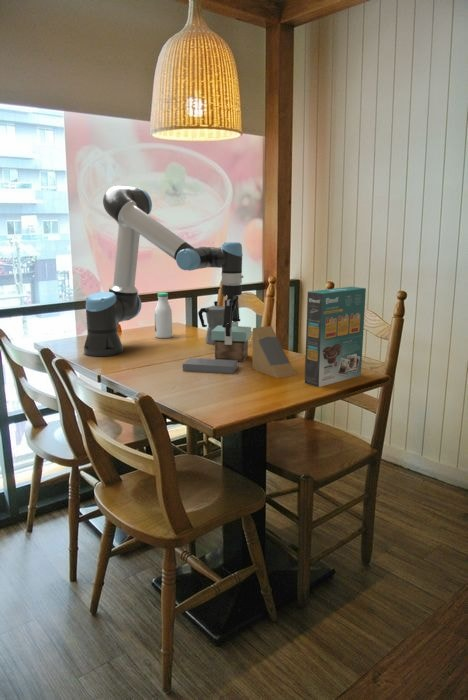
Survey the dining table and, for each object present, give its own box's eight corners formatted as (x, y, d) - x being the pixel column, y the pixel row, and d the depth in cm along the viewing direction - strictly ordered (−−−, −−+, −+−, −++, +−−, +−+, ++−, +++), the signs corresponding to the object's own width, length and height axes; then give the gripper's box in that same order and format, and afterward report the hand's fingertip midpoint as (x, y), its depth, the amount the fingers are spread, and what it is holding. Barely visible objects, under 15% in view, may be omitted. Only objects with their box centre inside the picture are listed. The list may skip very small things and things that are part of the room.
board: (182, 370, 198) (182, 363, 198) (189, 364, 207) (189, 357, 206) (232, 373, 195) (232, 366, 194) (237, 367, 204) (237, 360, 203)
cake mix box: (346, 371, 198) (351, 286, 191) (360, 375, 194) (365, 288, 187) (304, 383, 184) (307, 291, 177) (318, 387, 180) (322, 293, 173)
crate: (215, 359, 214) (215, 341, 213) (220, 354, 223) (220, 337, 221) (243, 361, 212) (243, 343, 211) (247, 355, 221) (247, 338, 219)
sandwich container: (277, 378, 189) (278, 335, 186) (251, 369, 202) (252, 327, 199) (297, 375, 194) (298, 332, 191) (270, 365, 207) (271, 325, 203)
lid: (211, 339, 212) (211, 330, 211) (218, 334, 222) (218, 325, 222) (245, 341, 209) (246, 332, 208) (251, 335, 220) (251, 326, 219)
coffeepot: (222, 338, 252) (222, 298, 248) (234, 342, 245) (234, 301, 240) (192, 343, 243) (192, 301, 239) (204, 346, 236) (204, 304, 232)
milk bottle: (175, 336, 256) (174, 292, 252) (165, 339, 250) (164, 294, 246) (162, 334, 260) (161, 291, 256) (151, 337, 254) (150, 293, 250)
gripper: (235, 288, 199) (235, 348, 204) (247, 281, 222) (246, 335, 227) (214, 287, 200) (214, 347, 205) (228, 280, 223) (228, 334, 228)
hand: (231, 341), depth 216 cm, fingers closed on lid, 11 cm apart
